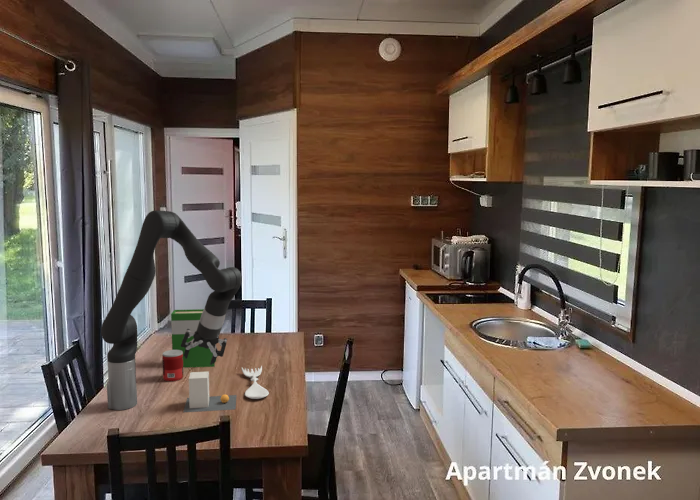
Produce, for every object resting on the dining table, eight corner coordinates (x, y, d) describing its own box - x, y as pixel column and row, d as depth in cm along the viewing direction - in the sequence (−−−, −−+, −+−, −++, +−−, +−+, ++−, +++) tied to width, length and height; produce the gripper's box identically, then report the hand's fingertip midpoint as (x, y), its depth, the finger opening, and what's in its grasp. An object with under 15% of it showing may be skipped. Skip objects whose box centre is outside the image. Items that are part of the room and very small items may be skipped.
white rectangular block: (189, 408, 194) (188, 378, 193) (191, 401, 201) (190, 372, 199) (208, 407, 195) (207, 377, 194) (209, 400, 202) (208, 371, 200)
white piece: (262, 372, 233) (262, 364, 233) (270, 402, 202) (270, 393, 202) (240, 373, 231) (240, 366, 230) (245, 404, 200) (245, 395, 200)
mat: (183, 413, 191) (182, 404, 190) (187, 398, 204) (187, 390, 203) (235, 410, 194) (235, 401, 194) (236, 396, 207) (236, 387, 206)
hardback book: (216, 361, 246) (215, 309, 243) (214, 366, 239) (213, 313, 235) (175, 362, 243) (174, 309, 240) (172, 368, 236) (171, 313, 233)
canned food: (187, 378, 224) (186, 352, 223) (169, 383, 219) (168, 356, 217) (177, 373, 230) (176, 348, 228) (159, 378, 224) (158, 352, 222)
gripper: (234, 321, 184) (220, 358, 190) (191, 309, 180) (179, 348, 186) (231, 333, 177) (218, 372, 183) (188, 322, 174) (175, 361, 180)
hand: (198, 360), depth 185 cm, fingers open, 8 cm apart
